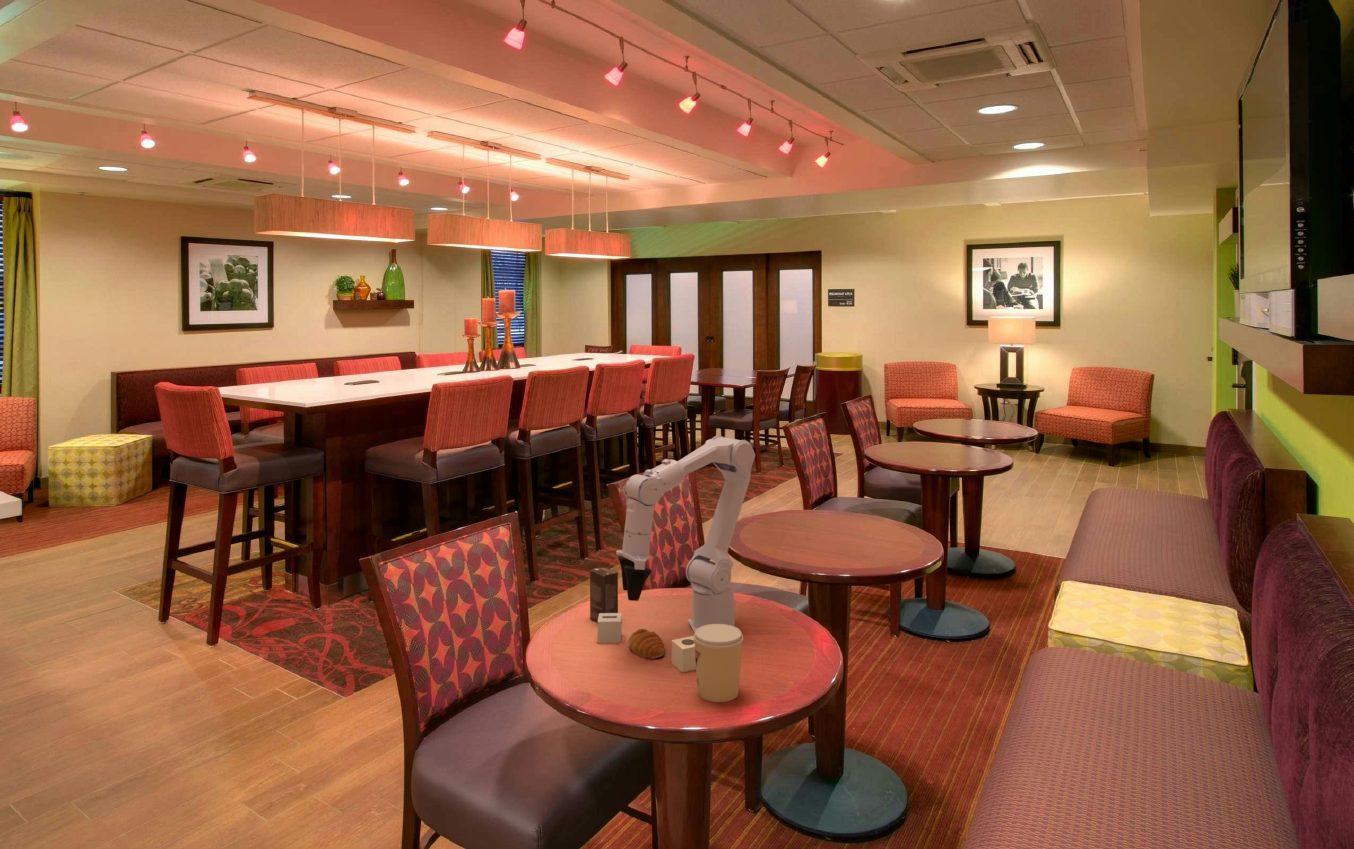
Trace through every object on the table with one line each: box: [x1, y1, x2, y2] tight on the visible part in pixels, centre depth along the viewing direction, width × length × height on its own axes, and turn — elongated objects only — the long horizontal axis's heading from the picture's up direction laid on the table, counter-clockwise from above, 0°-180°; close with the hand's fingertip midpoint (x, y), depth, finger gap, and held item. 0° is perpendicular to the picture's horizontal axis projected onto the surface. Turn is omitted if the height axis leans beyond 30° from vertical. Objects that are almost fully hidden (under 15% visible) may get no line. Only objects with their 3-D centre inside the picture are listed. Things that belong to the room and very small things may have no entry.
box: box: [589, 566, 619, 623], centre depth 188 cm, size 6×4×12 cm
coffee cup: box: [693, 624, 744, 703], centre depth 151 cm, size 9×9×12 cm
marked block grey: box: [597, 612, 623, 644], centre depth 177 cm, size 5×5×5 cm
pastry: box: [627, 628, 667, 660], centre depth 171 cm, size 9×7×4 cm
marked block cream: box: [671, 635, 696, 673], centre depth 164 cm, size 5×5×5 cm
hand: (630, 595), depth 169 cm, fingers open, 7 cm apart
